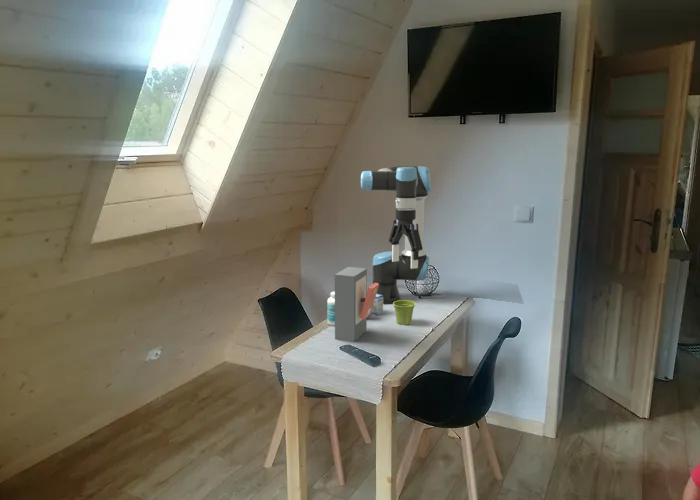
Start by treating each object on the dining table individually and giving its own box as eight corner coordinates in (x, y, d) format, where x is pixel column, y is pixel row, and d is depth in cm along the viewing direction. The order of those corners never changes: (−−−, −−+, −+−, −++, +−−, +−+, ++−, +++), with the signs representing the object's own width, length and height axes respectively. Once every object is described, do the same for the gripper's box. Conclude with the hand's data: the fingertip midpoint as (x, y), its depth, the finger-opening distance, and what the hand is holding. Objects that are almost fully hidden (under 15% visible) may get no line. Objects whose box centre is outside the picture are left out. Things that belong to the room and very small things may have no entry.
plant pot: (413, 327, 227) (414, 307, 225) (391, 325, 229) (391, 305, 227) (415, 320, 236) (416, 300, 234) (394, 318, 238) (394, 299, 236)
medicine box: (363, 312, 247) (363, 293, 245) (369, 309, 250) (369, 291, 249) (377, 315, 242) (377, 296, 240) (383, 313, 245) (383, 294, 244)
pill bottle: (324, 325, 229) (324, 294, 227) (331, 319, 236) (331, 289, 233) (341, 327, 227) (341, 296, 224) (347, 321, 234) (347, 291, 231)
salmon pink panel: (367, 312, 218) (375, 282, 214) (371, 313, 217) (379, 283, 214) (360, 317, 211) (368, 287, 207) (364, 319, 210) (372, 288, 206)
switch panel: (348, 327, 226) (348, 266, 221) (371, 331, 222) (372, 269, 217) (335, 339, 213) (334, 274, 208) (359, 342, 209) (359, 277, 204)
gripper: (380, 206, 213) (380, 259, 217) (415, 213, 191) (413, 272, 195) (397, 205, 216) (396, 257, 220) (433, 212, 194) (431, 270, 198)
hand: (404, 264), depth 207 cm, fingers open, 13 cm apart
